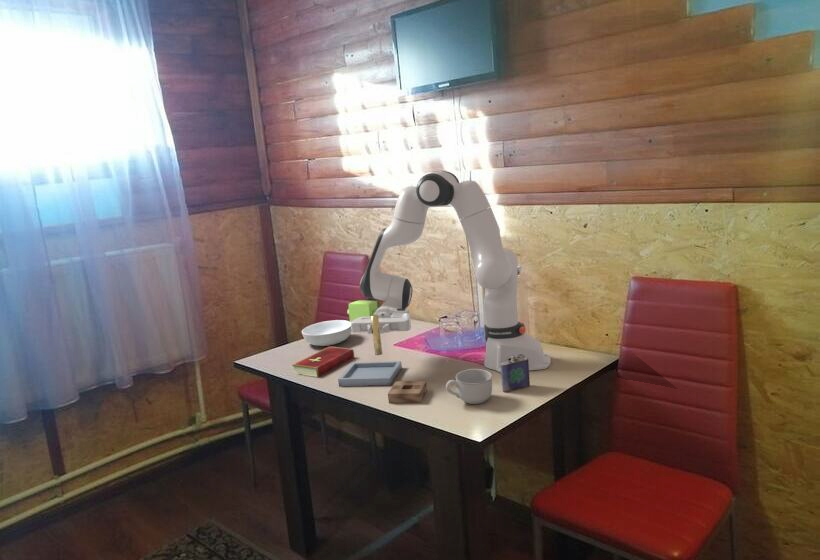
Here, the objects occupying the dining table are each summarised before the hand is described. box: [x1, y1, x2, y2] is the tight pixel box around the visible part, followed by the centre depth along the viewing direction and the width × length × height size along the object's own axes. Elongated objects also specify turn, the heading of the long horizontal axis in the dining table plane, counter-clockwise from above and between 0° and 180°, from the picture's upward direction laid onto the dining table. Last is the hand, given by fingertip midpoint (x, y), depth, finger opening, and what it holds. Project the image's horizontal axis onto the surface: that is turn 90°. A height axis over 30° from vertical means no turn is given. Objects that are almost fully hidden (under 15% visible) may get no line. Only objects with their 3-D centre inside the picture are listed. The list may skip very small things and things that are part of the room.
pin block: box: [387, 380, 428, 404], centre depth 192 cm, size 10×10×3 cm
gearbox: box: [346, 299, 379, 322], centre depth 283 cm, size 18×10×10 cm, turn 65°
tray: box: [337, 360, 403, 387], centre depth 212 cm, size 18×16×2 cm
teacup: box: [445, 368, 493, 405], centre depth 183 cm, size 14×11×8 cm
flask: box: [500, 354, 531, 393], centre depth 188 cm, size 9×3×11 cm, turn 110°
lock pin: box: [371, 315, 383, 356], centre depth 202 cm, size 2×2×13 cm
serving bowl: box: [301, 319, 352, 347], centre depth 257 cm, size 21×21×7 cm
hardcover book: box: [291, 345, 355, 378], centre depth 229 cm, size 12×21×4 cm, turn 147°
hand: (375, 331), depth 200 cm, fingers closed on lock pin, 2 cm apart
